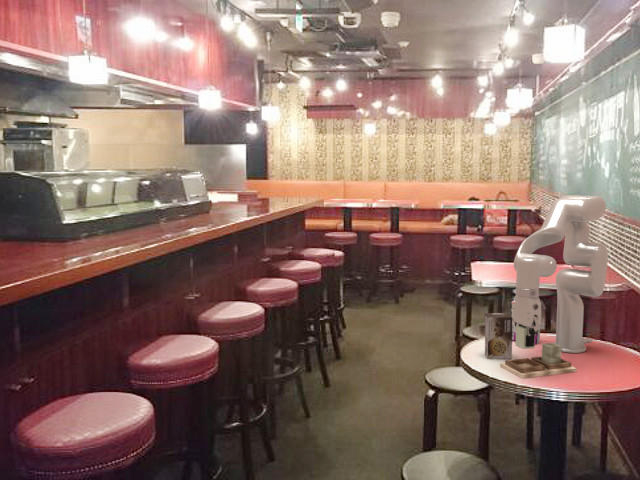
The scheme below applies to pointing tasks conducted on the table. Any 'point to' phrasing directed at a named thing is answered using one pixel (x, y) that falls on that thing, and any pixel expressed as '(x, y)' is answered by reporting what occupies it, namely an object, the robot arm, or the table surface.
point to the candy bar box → (537, 336)
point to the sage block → (522, 337)
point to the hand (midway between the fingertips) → (525, 343)
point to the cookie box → (498, 335)
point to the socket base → (540, 363)
